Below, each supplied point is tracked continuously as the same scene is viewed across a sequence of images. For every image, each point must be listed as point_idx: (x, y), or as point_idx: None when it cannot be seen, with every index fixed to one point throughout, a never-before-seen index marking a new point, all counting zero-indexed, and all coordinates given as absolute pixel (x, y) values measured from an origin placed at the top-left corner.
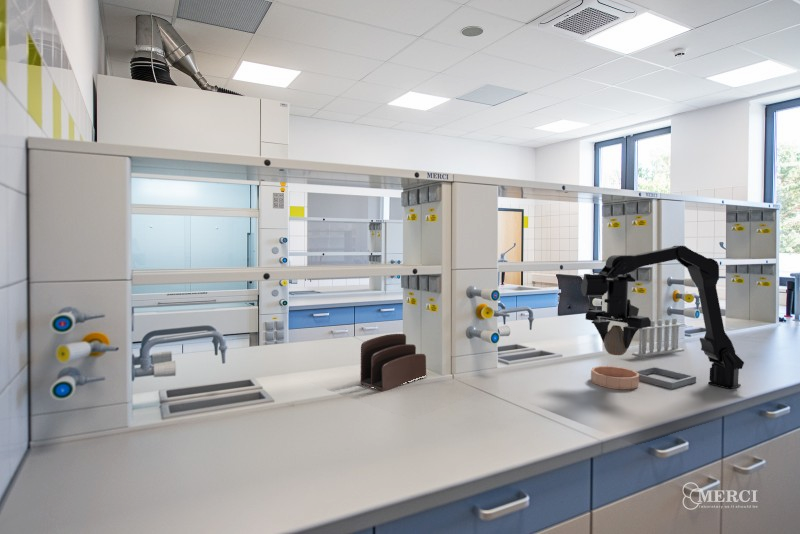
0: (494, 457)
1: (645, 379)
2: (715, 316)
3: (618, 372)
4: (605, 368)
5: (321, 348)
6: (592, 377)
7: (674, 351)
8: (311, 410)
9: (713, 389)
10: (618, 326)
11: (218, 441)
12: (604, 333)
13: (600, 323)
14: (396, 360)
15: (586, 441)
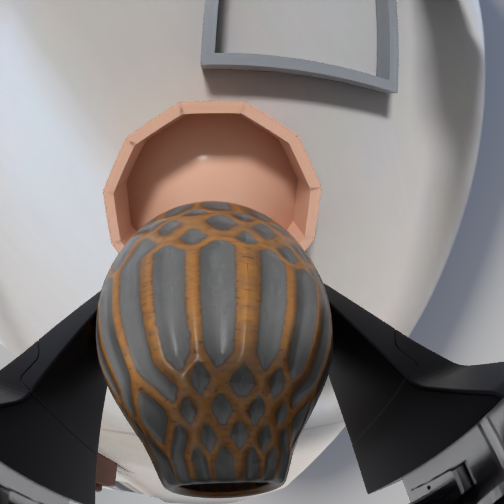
0: (300, 462)
1: (283, 70)
2: None
3: (172, 121)
4: (124, 169)
5: None
6: None
7: None
8: (153, 483)
9: (438, 18)
10: (209, 465)
11: None
12: (91, 388)
13: (84, 496)
14: (100, 482)
15: (343, 426)
